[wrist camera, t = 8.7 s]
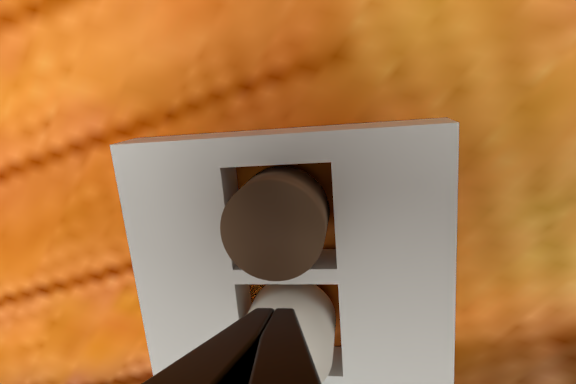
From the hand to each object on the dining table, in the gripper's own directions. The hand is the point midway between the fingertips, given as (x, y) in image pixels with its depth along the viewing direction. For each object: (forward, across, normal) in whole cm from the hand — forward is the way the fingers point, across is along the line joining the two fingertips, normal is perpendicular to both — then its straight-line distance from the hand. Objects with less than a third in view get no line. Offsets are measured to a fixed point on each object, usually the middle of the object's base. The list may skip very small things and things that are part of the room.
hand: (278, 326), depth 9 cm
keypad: (+13, +2, +7) cm, 15 cm away
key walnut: (+12, +2, +1) cm, 12 cm away
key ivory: (+12, +2, +7) cm, 14 cm away
